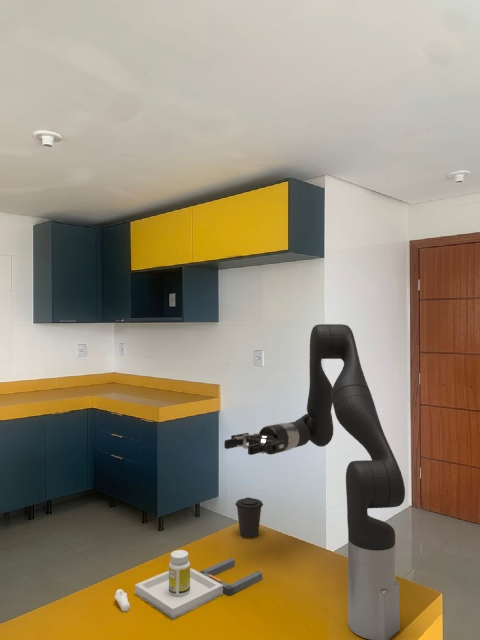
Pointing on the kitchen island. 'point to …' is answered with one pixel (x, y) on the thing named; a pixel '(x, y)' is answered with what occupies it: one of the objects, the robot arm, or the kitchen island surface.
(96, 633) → the kitchen island surface
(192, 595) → the tray
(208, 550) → the kitchen island surface
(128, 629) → the kitchen island surface
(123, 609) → the small white plastic part
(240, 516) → the coffee cup
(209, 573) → the holder
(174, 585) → the supplement bottle
